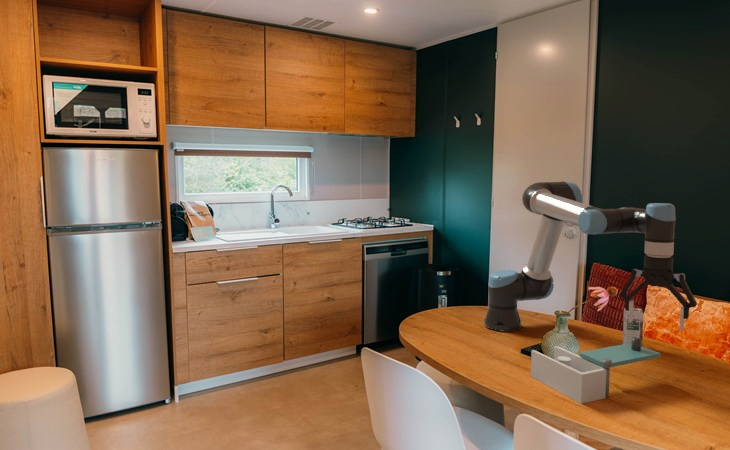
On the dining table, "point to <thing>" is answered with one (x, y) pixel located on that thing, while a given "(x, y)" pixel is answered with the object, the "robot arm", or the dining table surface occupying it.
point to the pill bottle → (565, 360)
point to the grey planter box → (571, 375)
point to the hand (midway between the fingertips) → (655, 325)
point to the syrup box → (633, 326)
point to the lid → (620, 354)
